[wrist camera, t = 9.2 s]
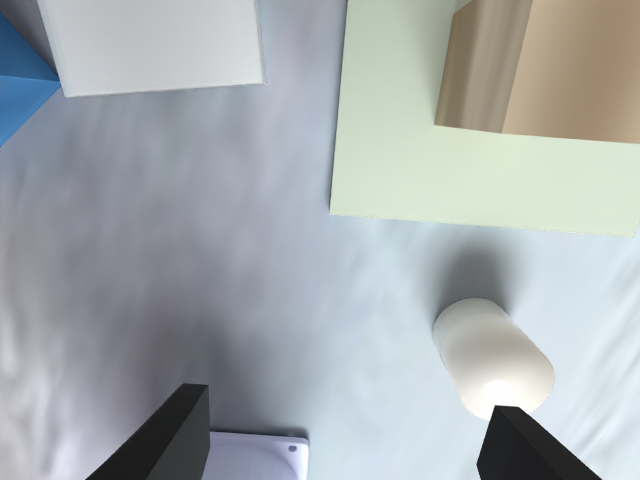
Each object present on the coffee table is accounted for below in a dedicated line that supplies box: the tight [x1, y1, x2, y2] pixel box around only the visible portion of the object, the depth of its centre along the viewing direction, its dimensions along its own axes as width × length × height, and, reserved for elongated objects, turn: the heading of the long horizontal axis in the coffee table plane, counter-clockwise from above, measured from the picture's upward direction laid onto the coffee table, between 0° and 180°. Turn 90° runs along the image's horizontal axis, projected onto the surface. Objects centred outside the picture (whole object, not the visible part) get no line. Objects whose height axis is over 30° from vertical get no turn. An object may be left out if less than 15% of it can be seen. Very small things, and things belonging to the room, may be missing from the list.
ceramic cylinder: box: [432, 298, 555, 420], centre depth 17 cm, size 4×4×4 cm
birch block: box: [434, 0, 640, 144], centre depth 11 cm, size 4×4×6 cm
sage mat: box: [330, 0, 640, 237], centre depth 14 cm, size 14×14×1 cm
